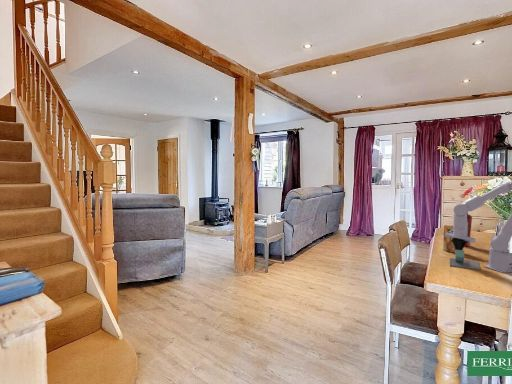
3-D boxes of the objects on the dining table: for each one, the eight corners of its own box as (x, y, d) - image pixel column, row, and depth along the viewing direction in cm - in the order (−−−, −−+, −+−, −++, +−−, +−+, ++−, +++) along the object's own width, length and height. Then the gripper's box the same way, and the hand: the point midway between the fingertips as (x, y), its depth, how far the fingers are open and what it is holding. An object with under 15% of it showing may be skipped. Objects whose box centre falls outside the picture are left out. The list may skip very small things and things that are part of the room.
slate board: (480, 270, 135) (480, 269, 135) (449, 266, 142) (449, 264, 142) (477, 262, 147) (477, 261, 147) (449, 258, 154) (449, 257, 153)
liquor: (454, 245, 182) (455, 201, 180) (461, 243, 185) (462, 201, 183) (466, 247, 175) (468, 202, 174) (473, 246, 178) (475, 202, 177)
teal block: (463, 262, 146) (464, 256, 141) (455, 261, 148) (455, 255, 143) (463, 256, 147) (464, 250, 143) (455, 255, 149) (455, 249, 145)
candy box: (463, 252, 165) (463, 226, 164) (459, 253, 163) (460, 227, 162) (446, 249, 172) (446, 224, 171) (442, 250, 170) (443, 225, 169)
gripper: (480, 229, 141) (479, 256, 142) (452, 224, 155) (450, 248, 155) (470, 230, 139) (468, 257, 140) (442, 225, 152) (441, 250, 153)
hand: (458, 253), depth 147 cm, fingers closed, pressing on teal block
